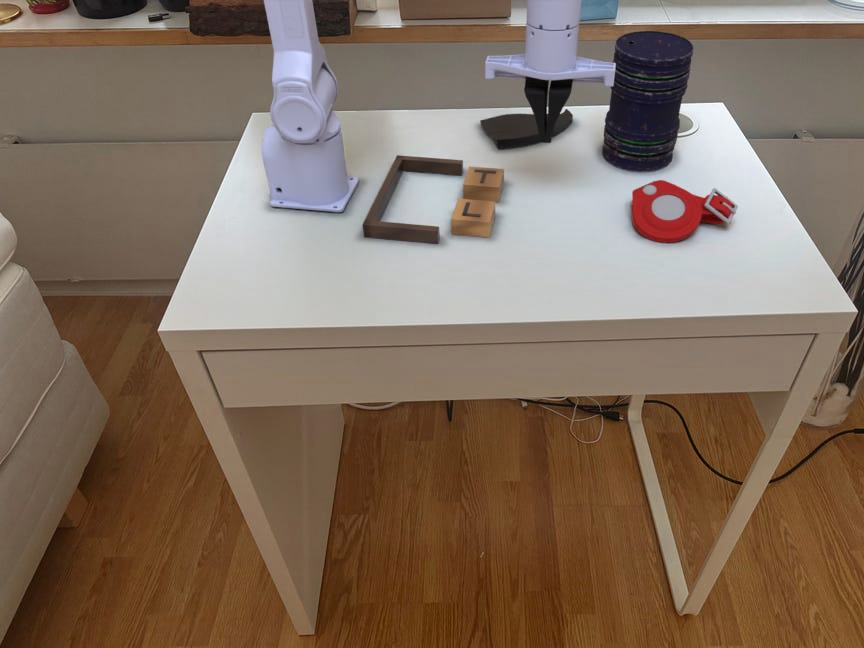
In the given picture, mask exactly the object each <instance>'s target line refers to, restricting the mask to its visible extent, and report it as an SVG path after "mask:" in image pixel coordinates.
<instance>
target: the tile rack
mask: <svg viewBox="0 0 864 648" xmlns="http://www.w3.org/2000/svg"><path fill="white" fill-rule="evenodd" d="M404 172H407V173H408V172H409V173H421V174H434V175H445V176H446V175H447V176H459V177H462V176H463V174H464V160H463V159H452V158H439V157H438V158H437V157H425V156H412V155H401V154H400V155H399V154H397V155H396V156H395V158H394V160H393V162H392V164H391V166H390V168H389V170H388V173H387V174H386V176H385V178H384V180H383V182H382V184H381V186H380V187H379V191H378V193H377V195H376V196H375V198H374V200H373V203H372V205H371V206H370V208H369V210H368V212H367V215H366V216H365V218H364V221H363V223H362V232H363V237H364V238H368V239H369V238H370V239H378V240H379V239H380V240H391V241H402V242H413V243H422V244H423V243H424V244H435V245H438V244H439V242H440V226H438V225H437V226H436V225H425V224H416V223H415V224H414V223H404V222H403V223H402V222H391V221H381V220H382V217H383V216H384V214H385V211H386V209H387V207H388V205H389V202H390V200H391V199H392V196H393V194H394V192H395V190H396V188H397V185H398V183H399V182H400V179H401V177H402V175H403V173H404Z"/></svg>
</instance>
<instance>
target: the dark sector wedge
mask: <svg viewBox="0 0 864 648" xmlns="http://www.w3.org/2000/svg"><path fill="white" fill-rule="evenodd" d="M573 117H574V115H573V113H572V112H571V111H570V110H569V109H568V108H565V109H564V111H563V112H560V114H559V117H558V119H557V121H556V124H555V127H554V130H553V133H552V138H554V137H556V136H558V135H559V134H561V133H562V132H564V131H565V130H567V128H569V127H570V125H571V124H572V123H573V121H574V119H573ZM547 121H548V113H547ZM480 127H481V129H482V130H483V132H484V133H485V135H486V136H487V137H488V138H489V139H490V141H492V142H493V144H494V145H495V147H496V149H497V150H499V151H502V150H512V149H518V148H526V147H529V146H534V145H537V144H540V143H541V142H539V133H538V128H537V123H536V120H535V117H534V114H533V113H505V114H500V115H497V116H492V117H489V118H484V119H481V120H480Z"/></svg>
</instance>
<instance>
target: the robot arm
mask: <svg viewBox="0 0 864 648" xmlns="http://www.w3.org/2000/svg"><path fill="white" fill-rule="evenodd" d="M313 3H314V2H313V0H263V4H264V10H265V15H266V18H267V19H266V20H267V24H268V29H269V34H270V39H271V44H272V49H273V62H272V72H271V85H272V89H273V99H272V102H271V104H270V108H269V109H270V110H269V115H270V119H271V122H272V125H269V126H268V127H267V128H266V129H265V131H264V134H263V136H262V142H261V156H262V163H263V166H264V172H265V175H266V179H267V184H268V188H269V189H268V190H269V193H270V198H271V200H270V201H269V206H270V207H274V208H285V209H297V210H307V211H317V212H318V211H320V212H331V213H342V212H343V211H344V210H345V209H346V206H347V205H348V203H349V201H350V199H351V197H352V195H353V194H354V192H355V190H356V188H357V186H358V185H359V183H360V178H359V177H355V176H348V169H347V163H346V156H345V149H344V148H345V147H344V142H343V141H344V140H343V135H342V134H343V133H342V127H341V121H340V120H339V118H338V116H337V115H336V113H335V110H334V109H333V105H334V104H335V102H336V100H337V98H338V97H339V96H338V95H339V83H338V80H337V78H336V75H335V74H334V72H333V70H331V68H330V65H329V64H328V60H327V57H326V56H327V55H326V50H325V48H324V47H323V45H322V44H321V42H320V39H319V35H318V27H317V21H316V15H315V9H314V4H313ZM581 6H582V0H527V1H526V20H525V21H526V24H525V50H524V52H525V53H521V54H506V55H487V57H486V60H485V63H484V79H485V80H495V79H496V78H502V79H503V78H505V79H521V80H524V88H523V90H524V91H523V92H524V95H525V98H526V100H527V102H528V104H529V106H530V108H531V111H532V114H534V117H535V120H536V123H537V128H538V133H539V142H541V143H542V144H551V143H552V139H553V137H552V133H553V130H554V127H555V124H556V121H557V119H558V117H559V114H561V113H562V111H563V108H564V107H565V105H566V103H567V102H568V100H569V98H570V96H571V94H572V91H573V90H572V89H573V83H586V84H587V83H588V84H603V87H610V86H611V87H613V85H614V77H615V68H616V63H612V62H608V61H601V60H596V59H591V58H586V57H581V56H577V55H578V42H579V32H580V21H581V8H582V7H581ZM611 87H610V88H611ZM547 114H548V121H547Z"/></svg>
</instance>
